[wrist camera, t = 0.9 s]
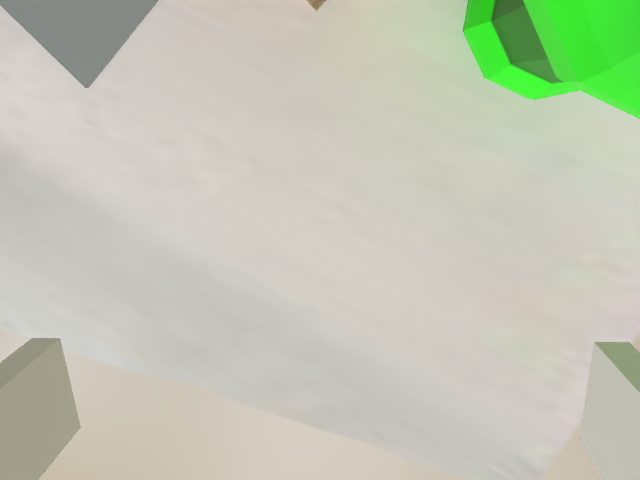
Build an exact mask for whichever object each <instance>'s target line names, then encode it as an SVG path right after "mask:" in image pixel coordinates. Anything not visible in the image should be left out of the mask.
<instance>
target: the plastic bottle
mask: <svg viewBox="0 0 640 480" xmlns="http://www.w3.org/2000/svg"><path fill="white" fill-rule="evenodd" d="M463 32H464V35H465V37H466V39H467V41H468V43H469V45H470V47H471V50H472V52H473V54H474V56H475V58H476V60H477V62H478V65H479V67H480V69H481V71H482V73H483V75H484V78H486V79H488V80H490V81H492V82H495V83H497V84H499V85H501V86H503V87H505V88H507V89H509V90H511V91H514V92H516V93H518V94H520V95H522V96H524V97H526V98H528V99H535V100H536V99H541V98H546V97H550V96H555V95H560V94H565V93H569V92H574V91H579V90H581V91H583V92H585V93H587V94H589V95H591V96H593V97H595V98H598V99H600V100H602V101H604V102H606V103H608V104H610V105H612V106H614V107H616V108H618V109H621V110H623V111H625V112H627V113H629V114H631V115H633V116H635V117H637V118H639V119H640V0H468V5H467V10H466V16H465V22H464V27H463Z"/></svg>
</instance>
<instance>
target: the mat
mask: <svg viewBox="0 0 640 480" xmlns="http://www.w3.org/2000/svg"><path fill="white" fill-rule="evenodd" d="M157 1H158V0H0V5H1V6H2V7H3V8H4V9H5V10H6V11H7V12H8V13H9V14H10V15H11V16H12V17H13V18H14V19H15V20H16V21H17V22H18V23H19V24H20V25H21V26H22V27H23V28H24V29H25V30H26V31H28V32H29V33H30V34H31V35H32V36H33V37H34V38H35V39H36V40H37V41H38V42H39V43H40V44H41V45H42V46H43V47H44V48H45V49H46V50H47V51H48V52H49V53H50V54H51V55H52V56H53V57H54V58H55V59H56V60H57V61H58V62H59V63H60V64H61V65H63V66H64V67H65V68H66V69H67V70H68V71H69V72H70V73H71V74H72V75H73V76H74V77H75V78H76V79H77V80H78V81H79V82H80V83H81V84H82V85H83V86H84V87H85V88H89V86H90V85H91V84H92V83H93V81H94V80H95V79H96V78H97V76H98V75H99V74H100V73H101V71H102V70H103V69H104V68H105V66H106V65H107V64H108V63H109V61H110V60H111V59H112V58H113V56H114V55H115V54H116V52H117V51H118V50H119V49H120V47H121V46H122V45H123V44H124V42H125V41H126V40H127V39H128V37H129V36H130V35H131V34H132V32H133V31H134V30H135V29H136V27H137V26H138V25H139V24H140V22H141V21H142V20H143V19H144V17H145V16H146V15H147V14H148V12H149V11H150V10H151V9H152V7H153V6H154V5H155V4H156V2H157Z"/></svg>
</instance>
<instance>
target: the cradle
mask: <svg viewBox="0 0 640 480" xmlns="http://www.w3.org/2000/svg"><path fill="white" fill-rule="evenodd" d="M307 1H308V2H309V3H310V4H311V6H312V7H313V8H314V9H315V10H316V11H317V9H318V8H319V7H320V6H321V5H322V4H323V3H324V2H325V1H326V0H307Z"/></svg>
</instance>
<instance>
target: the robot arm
mask: <svg viewBox="0 0 640 480" xmlns="http://www.w3.org/2000/svg"><path fill="white" fill-rule="evenodd" d="M79 429H80V423H79V419H78V414H77V410H76V406H75V401H74V397H73V392H72V388H71V384H70V380H69V375H68V371H67V367H66V362H65V358H64V354H63V349H62V345H61V341H60V338H32V339H30V340H29V341H28V342H26V343H25V344H24V345H23V346H21V347H20V348H19V349H17V350H16V351H15V352H14V353H12V354H11V355H10V356H8V357H7V358H6V359H5V360H3V361H2V362H1V363H0V480H38V479H39V478H40V477H41V475H42V474H43V473H44V472H45V471H46V469H47V468H48V467H49V466H50V464H51V463H52V462H53V461H54V459H55V458H56V457H57V456H58V455H59V453H60V452H61V451H62V450H63V448H64V447H65V446H66V445H67V444H68V442H69V441H70V440H71V439H72V437H73V436H74V435H75V434H76V432H77V431H78V430H79ZM579 440H580V442H581V443H582V445H583V447H584V448H585V450H586V452H587V453H588V455H589V456H590V458H591V460H592V461H593V463H594V465H595V466H596V468H597V470H598V471H599V473H600V475H601V476H602V478H603V480H640V353H639V352H638V351H637V350H636V349H635V348H634V347H633V346H632V345H631V344H630V343H627V342H594V348H593V355H592V361H591V368H590V374H589V381H588V387H587V394H586V400H585V406H584V413H583V419H582V426H581V433H580V439H579Z"/></svg>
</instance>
